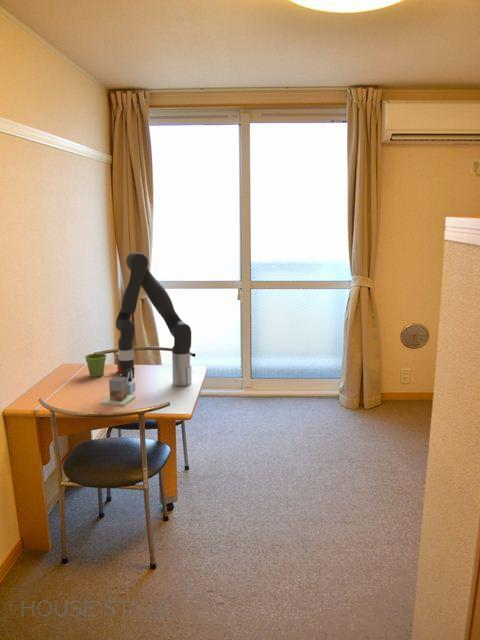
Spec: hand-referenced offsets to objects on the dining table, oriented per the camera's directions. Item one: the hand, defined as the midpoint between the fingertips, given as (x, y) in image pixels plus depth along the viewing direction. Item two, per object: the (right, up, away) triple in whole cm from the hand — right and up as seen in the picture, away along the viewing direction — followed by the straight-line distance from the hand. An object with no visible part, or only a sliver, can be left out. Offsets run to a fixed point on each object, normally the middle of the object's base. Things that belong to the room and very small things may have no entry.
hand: (127, 390), depth 257 cm
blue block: (0, -1, 0) cm, 1 cm away
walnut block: (-2, -3, -12) cm, 12 cm away
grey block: (-2, +2, -13) cm, 13 cm away
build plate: (-2, -4, -11) cm, 12 cm away
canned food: (-9, +6, +33) cm, 35 cm away
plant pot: (-23, +4, +26) cm, 35 cm away
